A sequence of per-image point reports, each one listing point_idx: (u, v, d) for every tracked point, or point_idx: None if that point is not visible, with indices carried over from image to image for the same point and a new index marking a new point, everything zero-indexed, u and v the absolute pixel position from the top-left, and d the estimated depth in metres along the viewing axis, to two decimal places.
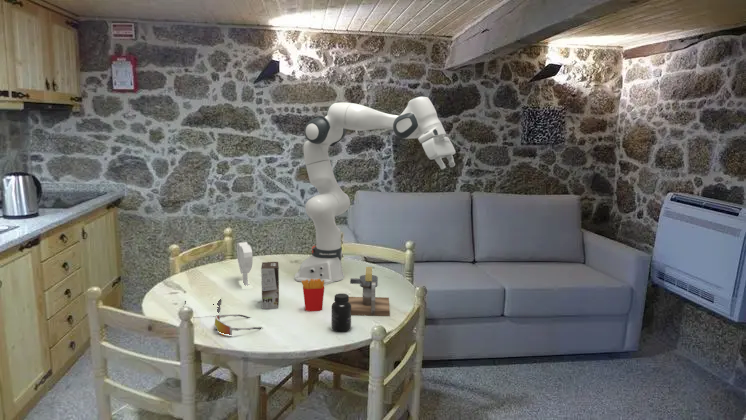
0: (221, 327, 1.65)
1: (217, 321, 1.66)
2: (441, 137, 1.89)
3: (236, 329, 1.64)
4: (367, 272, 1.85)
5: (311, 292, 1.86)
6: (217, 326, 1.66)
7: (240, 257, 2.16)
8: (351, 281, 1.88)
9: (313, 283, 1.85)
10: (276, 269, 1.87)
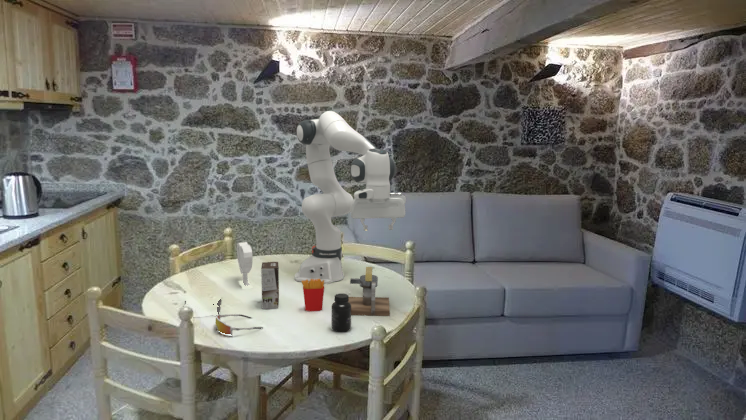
0: (222, 327, 1.65)
1: (218, 321, 1.67)
2: (375, 200, 1.81)
3: (237, 329, 1.64)
4: (367, 272, 1.85)
5: (311, 292, 1.86)
6: (218, 326, 1.66)
7: (240, 257, 2.16)
8: (351, 281, 1.88)
9: (313, 283, 1.85)
10: (276, 269, 1.87)
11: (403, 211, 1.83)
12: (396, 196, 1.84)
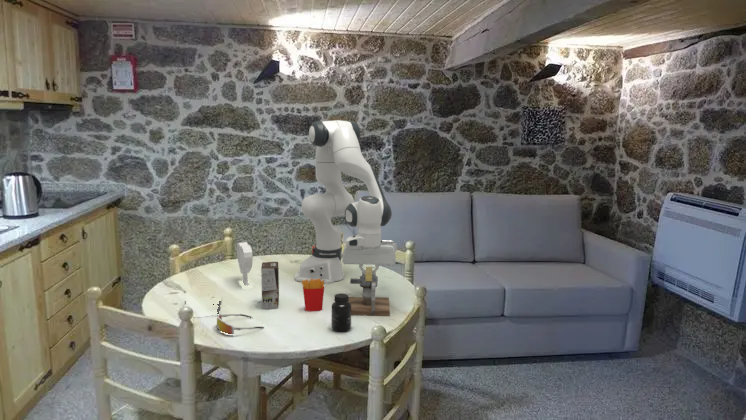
0: (223, 327, 1.65)
1: (219, 321, 1.67)
2: (365, 248, 1.84)
3: (238, 329, 1.65)
4: (367, 272, 1.85)
5: (311, 292, 1.86)
6: (219, 326, 1.67)
7: (240, 257, 2.16)
8: (351, 281, 1.88)
9: (313, 283, 1.85)
10: (276, 269, 1.87)
11: (393, 259, 1.85)
12: (387, 243, 1.86)
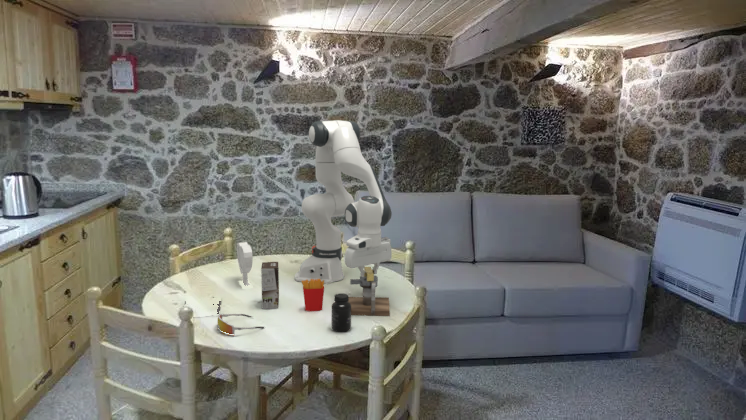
0: (224, 326, 1.65)
1: (220, 320, 1.67)
2: (371, 248, 1.83)
3: (239, 328, 1.65)
4: (368, 272, 1.85)
5: (311, 292, 1.86)
6: (220, 325, 1.67)
7: (240, 257, 2.16)
8: (351, 282, 1.87)
9: (313, 283, 1.85)
10: (276, 269, 1.87)
11: (390, 254, 1.92)
12: (383, 240, 1.90)
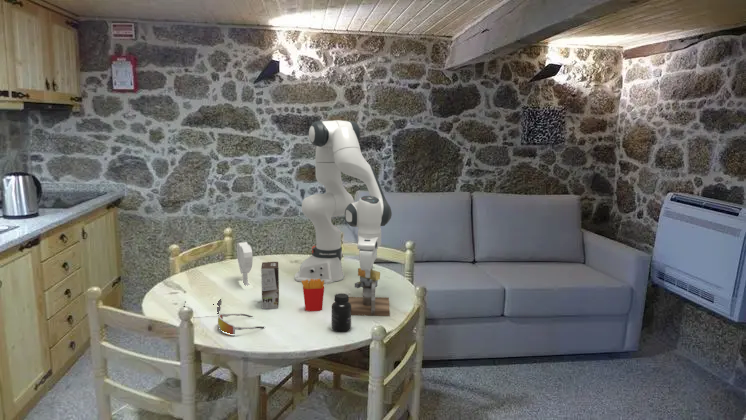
0: (224, 326, 1.66)
1: (220, 320, 1.67)
2: (376, 247, 1.85)
3: (239, 328, 1.65)
4: (373, 272, 1.86)
5: (311, 292, 1.86)
6: (220, 325, 1.67)
7: (240, 257, 2.16)
8: (358, 285, 1.84)
9: (313, 283, 1.85)
10: (276, 269, 1.87)
11: (376, 251, 1.96)
12: None
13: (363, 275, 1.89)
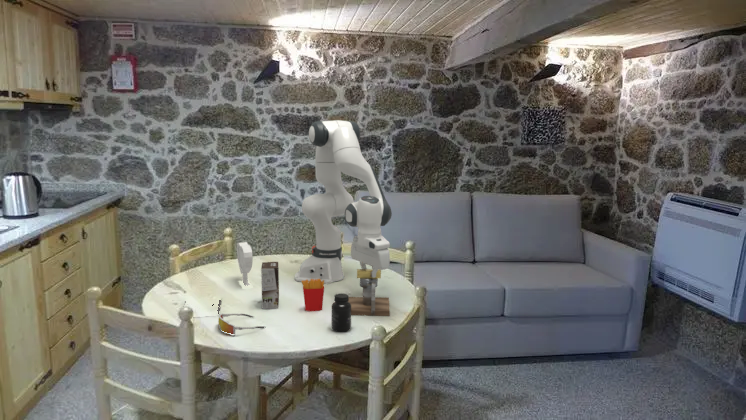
0: (225, 326, 1.66)
1: (221, 320, 1.67)
2: None
3: (239, 328, 1.65)
4: None
5: (311, 292, 1.86)
6: (221, 325, 1.67)
7: (240, 257, 2.16)
8: (371, 286, 1.83)
9: (313, 283, 1.85)
10: (276, 269, 1.87)
11: None
12: None
13: (364, 276, 1.87)
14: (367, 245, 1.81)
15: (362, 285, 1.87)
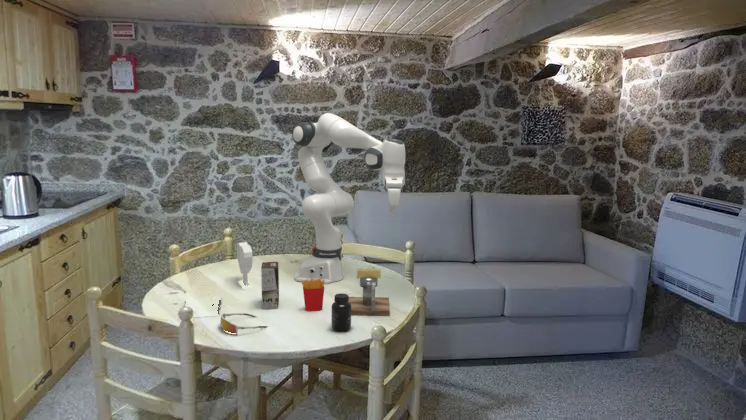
0: (227, 326, 1.66)
1: (223, 320, 1.68)
2: None
3: (242, 328, 1.66)
4: (376, 270, 1.88)
5: (311, 292, 1.86)
6: (223, 325, 1.68)
7: (240, 257, 2.16)
8: (371, 286, 1.83)
9: (313, 283, 1.85)
10: (276, 269, 1.87)
11: None
12: None
13: (364, 276, 1.87)
14: (384, 183, 1.94)
15: (362, 285, 1.87)
